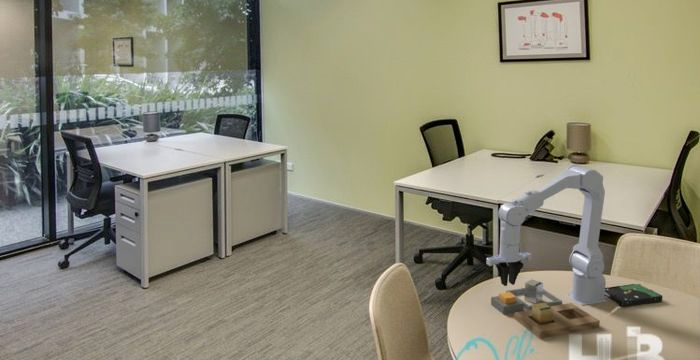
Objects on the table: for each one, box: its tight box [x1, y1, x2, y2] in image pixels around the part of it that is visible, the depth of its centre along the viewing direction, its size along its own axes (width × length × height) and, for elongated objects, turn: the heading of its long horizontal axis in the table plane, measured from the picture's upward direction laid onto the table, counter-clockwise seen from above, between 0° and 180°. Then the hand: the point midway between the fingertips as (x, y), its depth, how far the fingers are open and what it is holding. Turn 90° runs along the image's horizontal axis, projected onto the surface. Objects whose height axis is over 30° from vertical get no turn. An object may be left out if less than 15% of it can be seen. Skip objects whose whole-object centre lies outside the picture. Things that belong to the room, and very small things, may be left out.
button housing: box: [490, 295, 524, 315], centre depth 159 cm, size 7×7×3 cm
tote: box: [505, 287, 563, 311], centre depth 164 cm, size 12×12×2 cm
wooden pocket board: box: [513, 302, 601, 340], centre depth 149 cm, size 20×12×2 cm, turn 106°
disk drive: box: [605, 283, 663, 309], centre depth 164 cm, size 10×3×15 cm
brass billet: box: [531, 302, 553, 325], centre depth 147 cm, size 4×4×6 cm
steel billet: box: [523, 279, 544, 304], centre depth 163 cm, size 4×4×6 cm
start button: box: [498, 292, 517, 304], centre depth 158 cm, size 4×4×3 cm
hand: (507, 284), depth 157 cm, fingers open, 2 cm apart
